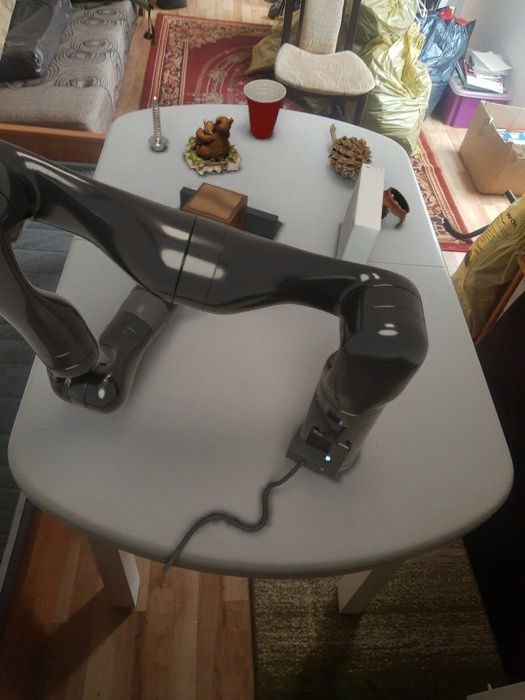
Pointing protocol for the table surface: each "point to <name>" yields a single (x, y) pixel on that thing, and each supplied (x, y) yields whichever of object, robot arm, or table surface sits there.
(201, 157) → the bear figurine
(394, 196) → the brown round legged piece
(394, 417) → the table surface
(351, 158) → the pine cone
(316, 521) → the table surface
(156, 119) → the screw
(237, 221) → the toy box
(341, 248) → the skincare box
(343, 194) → the table surface
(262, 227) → the stop rail
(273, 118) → the plastic cup
